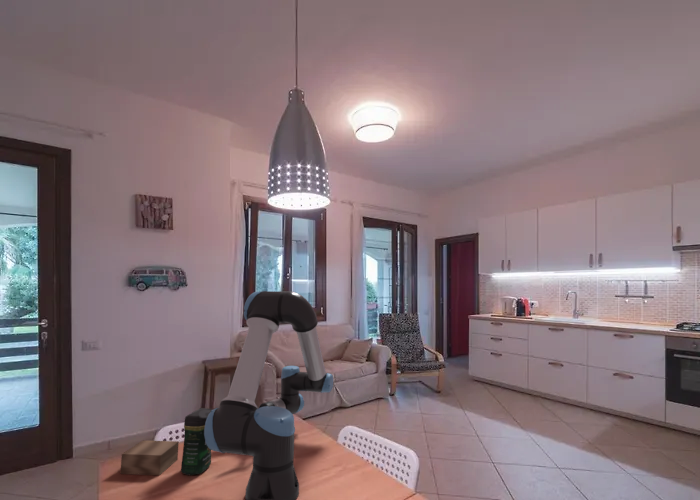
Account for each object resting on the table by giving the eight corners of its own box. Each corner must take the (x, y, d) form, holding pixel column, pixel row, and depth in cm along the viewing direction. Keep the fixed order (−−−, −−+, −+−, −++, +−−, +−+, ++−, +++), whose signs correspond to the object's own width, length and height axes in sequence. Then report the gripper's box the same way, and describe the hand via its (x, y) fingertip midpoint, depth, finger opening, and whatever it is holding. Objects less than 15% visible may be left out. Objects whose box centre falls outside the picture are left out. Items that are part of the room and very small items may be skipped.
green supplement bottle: (200, 477, 116) (203, 415, 118) (176, 475, 117) (180, 414, 119) (214, 463, 126) (217, 406, 128) (193, 461, 127) (196, 405, 129)
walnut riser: (177, 459, 128) (178, 441, 129) (159, 475, 117) (160, 455, 118) (141, 458, 129) (142, 440, 129) (120, 473, 118) (121, 454, 119)
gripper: (292, 428, 139) (245, 446, 122) (251, 414, 154) (204, 428, 138) (293, 407, 140) (246, 423, 123) (252, 395, 155) (205, 408, 138)
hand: (224, 426), depth 130 cm, fingers open, 13 cm apart
